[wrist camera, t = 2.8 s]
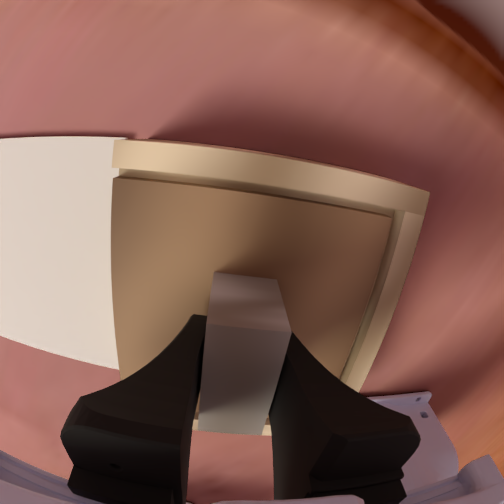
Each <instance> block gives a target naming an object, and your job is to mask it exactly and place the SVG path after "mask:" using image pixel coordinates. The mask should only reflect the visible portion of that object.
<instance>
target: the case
mask: <svg viewBox="0 0 504 504" xmlns="http://www.w3.org/2000/svg"><path fill="white" fill-rule="evenodd" d="M112 168H119V176H125V177H137V178H148V179H158V180H168V181H177V182H186V183H195V184H204V185H212V186H220V187H227V188H235V189H242V190H249V191H256V192H263V193H269V194H276V195H282V196H289V197H295V198H301V199H307V200H313V201H318V202H324V203H330V204H335V205H340V206H346V207H351V208H356V209H361V210H366V211H371V212H376V213H381V214H386V215H388V216H389V217H391V218H392V222H391V225H390V229H389V233H388V237H387V241H386V244H385V248H384V251H383V255H382V258H381V262H380V265H379V268H378V272H377V275H376V278H375V281H374V284H373V288H372V291H371V294H370V297H369V300H368V303H367V306H366V308H365V311H364V314H363V317H362V320H361V323H360V325H359V328H358V331H357V334H356V336H355V339H354V341H353V344H352V347H351V349H350V352H349V354H348V357H347V359H346V362H345V364H344V367H343V369H342V371H341V374H340V376H339V378H338V379H340V380H341V381H342V382H343V383H345V384H346V385H348V386H349V387H350V388H352V389H354V390H355V391H357V392H358V393H359V391H360V389H361V387H362V385H363V383H364V381H365V378H366V376H367V374H368V372H369V370H370V368H371V366H372V363H373V361H374V359H375V357H376V355H377V352H378V350H379V348H380V345H381V343H382V341H383V338H384V336H385V333H386V331H387V329H388V326H389V324H390V321H391V319H392V316H393V313H394V311H395V308H396V305H397V303H398V300H399V297H400V294H401V292H402V289H403V286H404V283H405V280H406V277H407V274H408V271H409V268H410V265H411V262H412V259H413V255H414V252H415V249H416V245H417V242H418V238H419V235H420V231H421V227H422V224H423V220H424V216H425V212H426V208H427V204H428V200H429V195H430V192H428V191H425V190H422V189H419V188H417V187H414V186H411V185H408V184H405V183H402V182H398V181H395V180H392V179H389V178H386V177H382V176H378V175H374V174H370V173H366V172H362V171H358V170H353V169H349V168H344V167H340V166H335V165H331V164H326V163H321V162H316V161H311V160H306V159H301V158H295V157H290V156H284V155H278V154H272V153H266V152H260V151H253V150H247V149H240V148H232V147H225V146H217V145H208V144H199V143H190V142H180V141H168V140H156V139H121V140H114V147H113V157H112ZM198 417H199V413H198V412H195V416H194V421H193V427H192V430H198ZM208 432H209V431H208ZM218 433H219V432H218ZM230 434H231V433H230ZM246 435H247V434H246ZM262 435H272V434H271V426H270V421H269V418H267V419H266V422H265V425H264V429H263V432H262Z"/></svg>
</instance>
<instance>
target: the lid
mask: <svg viewBox="0 0 504 504" xmlns="http://www.w3.org/2000/svg"><path fill="white" fill-rule="evenodd" d="M391 222H392V218H391V217H389V216H388V215H386V214H381V213H376V212H371V211H366V210H361V209H356V208H351V207H346V206H340V205H335V204H330V203H324V202H318V201H313V200H307V199H301V198H295V197H289V196H282V195H276V194H269V193H263V192H256V191H249V190H242V189H235V188H227V187H220V186H212V185H204V184H195V183H186V182H177V181H168V180H158V179H148V178H137V177H125V176H117V177H114V178H113V183H112V203H111V282H112V302H113V316H114V328H115V338H116V348H117V356H118V364H119V372H120V379H121V380H123V379H125V378H127V377H129V376H130V375H132V374H134V373H135V372H137V371H138V370H139V369H141V368H142V367H144V366H145V365H146V364H148V363H149V362H150V361H152V360H153V359H154V358H155V357H156V356H157V355H159V354H160V353H161V352H162V351H163V350H164V349H165V348H166V347H167V346H168V345H169V344H170V343H171V342H172V341H173V339H174V338H175V337H176V336H177V335H178V333H179V332H180V331H181V330H182V329H183V327H184V326H185V324H186V323H187V322H188V320H189V318H190V316H192V315H193V314H197V315H205V316H207V322H206V332H205V343H204V354H203V365H202V377H201V389H200V394H199V398H198V403H197V407H196V412H198V413H199V417H198V430H199V431H209V432H219V433H231V434H247V435H262V432H263V429H264V425H265V422H266V419H267V418H269V415H268V413H269V409H270V406H271V403H272V400H273V396H274V393H275V390H276V386H277V383H278V379H279V376H280V372H281V369H282V365H283V362H284V358H285V355H286V351H287V347H288V344H289V340H290V336H291V333H292V332H293V333H294V334H295V335H296V337H297V338H298V339H299V340H300V341H301V343H302V344H303V345H304V346H305V347H306V348H307V349H308V351H309V352H310V353H311V354H312V355H313V356H314V357H315V358H316V359H317V360H318V361H319V362H320V363H321V364H322V365H323V366H324V367H325V368H326V369H327V370H329V371H330V372H331V373H332V374H333V375H334V376H336V377H337V378H339V376H340V374H341V371H342V369H343V367H344V364H345V362H346V359H347V357H348V354H349V352H350V349H351V347H352V344H353V341H354V339H355V336H356V334H357V331H358V328H359V325H360V323H361V320H362V317H363V314H364V311H365V308H366V306H367V303H368V300H369V297H370V294H371V291H372V288H373V284H374V281H375V278H376V275H377V272H378V268H379V265H380V262H381V258H382V255H383V251H384V248H385V244H386V241H387V237H388V233H389V229H390V225H391ZM291 331H292V332H291Z"/></svg>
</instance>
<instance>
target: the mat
mask: <svg viewBox="0 0 504 504" xmlns="http://www.w3.org/2000/svg"><path fill="white" fill-rule="evenodd" d="M121 139H128V138H122V137H92V136H49V137H21V138H4V139H0V336H3V337H5V338H8V339H11V340H14V341H17V342H19V343H22V344H25V345H28V346H32V347H35V348H38V349H41V350H44V351H48V352H51V353H54V354H58V355H61V356H65V357H69V358H72V359H76V360H80V361H84V362H88V363H92V364H96V365H100V366H105V367H109V368H114V369H118V370H119V364H118V356H117V348H116V338H115V328H114V316H113V302H112V282H111V203H112V183H113V178H114V177H117V176H119V168H112V157H113V147H114V140H121Z"/></svg>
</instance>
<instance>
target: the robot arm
mask: <svg viewBox="0 0 504 504" xmlns="http://www.w3.org/2000/svg"><path fill="white" fill-rule="evenodd" d="M206 322H207V316H205V315H197V314H193V315H192V316H190V318H189V320H188V322H187V323H186V324H185V326H184V327H183V329H182V330H181V331H180V332H179V333H178V335H177V336H176V337H175V338H174V339H173V341H172V342H171V343H170V344H169V345H168V346H167V347H166V348H165V349H164V350H163V351H162V352H161V353H160V354H159V355H157V356H156V357H155V358H154V359H153V360H152V361H150V362H149V363H148V364H146V365H145V366H144V367H142V368H141V369H139V370H138V371H137V372H135V373H134V374H132V375H130V376H129V377H127V378H125V379H123V380H121V381H120V382H118V383H116V384H114V385H111V386H109V387H107V388H105V389H102V390H99V391H96V392H94V393H91V394H88V395H85V396H81V397H80V398H79V400H78V401H77V403H76V404H75V406H74V407H73V409H72V410H71V412H70V414H69V416H68V418H67V420H66V422H65V424H64V426H63V429H62V431H61V435H60V437H61V440H62V443H63V445H64V447H65V449H66V451H67V453H68V455H69V457H70V459H71V461H72V462H73V464H74V466H73V469H72V472H71V475H70V478H69V480H67V479H64V478H62V477H59V476H56V475H54V474H51V473H49V472H46V471H44V470H42V469H39V468H37V467H35V466H32V465H30V464H28V463H26V462H24V461H21V460H19V459H17V458H15V457H13V456H11V455H9V454H7V453H5V452H3V451H1V450H0V504H186V496H187V482H188V469H189V457H190V446H191V436H192V427H193V421H194V416H195V412H196V407H197V403H198V398H199V394H200V389H201V377H202V365H203V354H204V343H205V332H206ZM291 332H292V331H291ZM431 396H432V394H431V393H430V391H426V392H418V393H410V394H400V395H389V396H377V397H365V396H363V395H361V394H360V393H358V392H357V391H355V390H354V389H352V388H350V387H349V386H348V385H346V384H345V383H343V382H342V381H341V380H340V379H338V378H337V377H336V376H334V375H333V374H332V373H331V372H330V371H329V370H327V369H326V368H325V367H324V366H323V365H322V364H321V363H320V362H319V361H318V360H317V359H316V358H315V357H314V356H313V355H312V354H311V353H310V352H309V351H308V349H307V348H306V347H305V346H304V345H303V344H302V343H301V341H300V340H299V339H298V338H297V337H296V335H295V334H294V333H293V332H292V333H291V336H290V340H289V344H288V347H287V351H286V355H285V358H284V362H283V365H282V369H281V372H280V376H279V379H278V383H277V386H276V390H275V393H274V396H273V400H272V403H271V406H270V409H269V413H268V415H269V421H270V426H271V434H272V448H273V470H274V500H235V501H220V502H216V503H212V504H503V503H504V478H503V477H502V475H501V473H500V471H499V470H498V468H497V466H496V465H495V463H494V461H493V460H492V458H491V456H490V455H485V456H483V457H480V458H478V459H476V460H473V461H471V462H470V463H468V464H467V465H466V466H464V467H463V468H462V469H461V470H460V471H459V473H458V456H457V452H456V450H455V447H454V445H453V444H452V442H451V440H450V438H449V437H448V435H447V433H446V432H445V430H444V428H443V427H442V425H441V423H440V422H439V420H438V418H437V417H436V415H435V413H434V412H433V410H432V408H431V407H430V405H429V403H428V401H429V400H430V398H431Z"/></svg>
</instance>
